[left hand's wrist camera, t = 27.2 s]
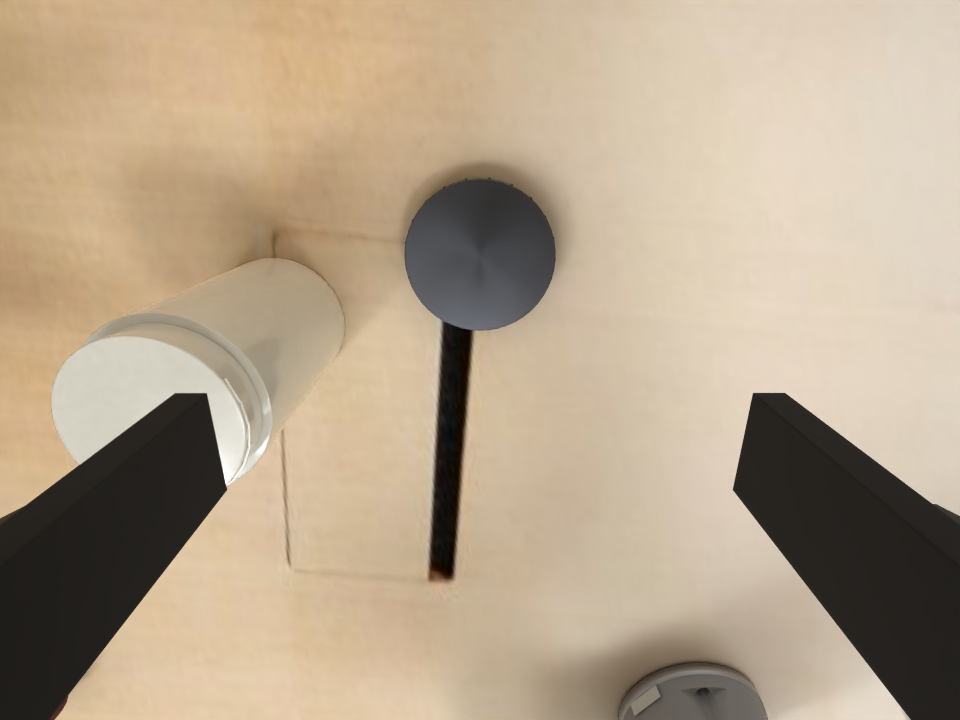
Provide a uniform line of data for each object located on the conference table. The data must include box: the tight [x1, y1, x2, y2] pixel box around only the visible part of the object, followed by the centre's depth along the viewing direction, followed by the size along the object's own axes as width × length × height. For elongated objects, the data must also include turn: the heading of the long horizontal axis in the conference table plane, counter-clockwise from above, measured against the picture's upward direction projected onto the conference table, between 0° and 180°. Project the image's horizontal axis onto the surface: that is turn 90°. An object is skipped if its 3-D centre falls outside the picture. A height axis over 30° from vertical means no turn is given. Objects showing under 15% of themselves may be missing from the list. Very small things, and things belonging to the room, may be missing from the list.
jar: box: [51, 258, 345, 487], centre depth 32 cm, size 10×10×17 cm
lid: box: [405, 178, 555, 330], centre depth 38 cm, size 11×11×2 cm
